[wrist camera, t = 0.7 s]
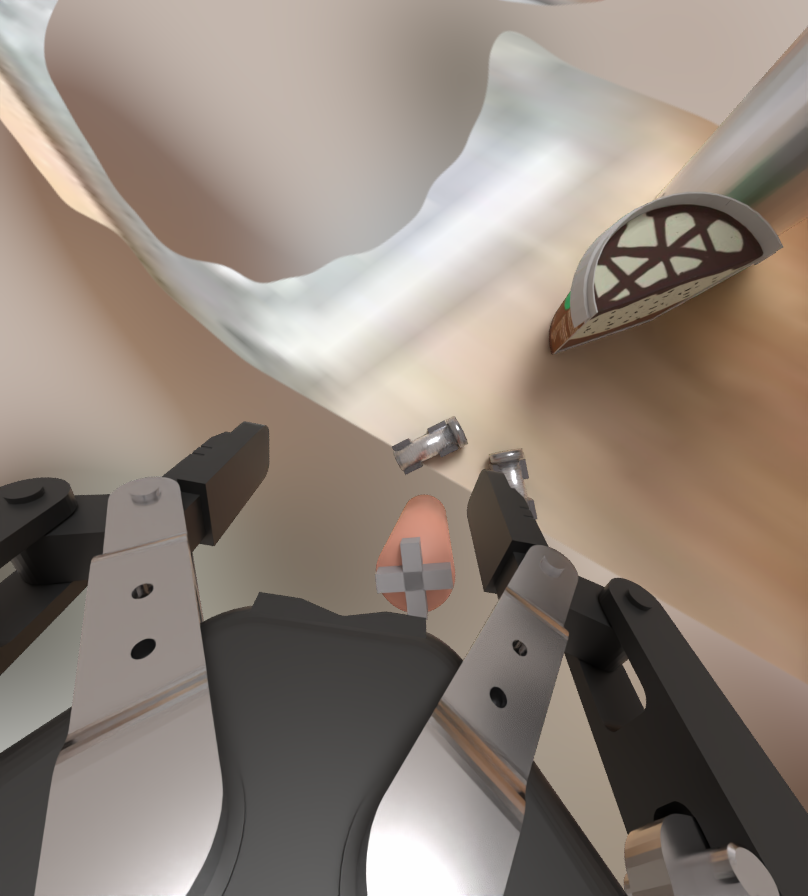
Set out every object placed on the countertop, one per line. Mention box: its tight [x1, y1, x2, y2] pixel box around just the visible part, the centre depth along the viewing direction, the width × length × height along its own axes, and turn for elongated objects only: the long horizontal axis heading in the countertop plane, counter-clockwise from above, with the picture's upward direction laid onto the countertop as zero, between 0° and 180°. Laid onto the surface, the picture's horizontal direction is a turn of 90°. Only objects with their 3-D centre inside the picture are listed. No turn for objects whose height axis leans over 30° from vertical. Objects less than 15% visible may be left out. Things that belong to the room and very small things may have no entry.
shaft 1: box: [392, 416, 468, 474], centre depth 29 cm, size 7×3×3 cm, turn 116°
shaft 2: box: [489, 449, 537, 519], centre depth 28 cm, size 7×3×3 cm, turn 11°
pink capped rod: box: [375, 495, 455, 619], centre depth 23 cm, size 4×4×15 cm
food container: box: [549, 192, 783, 355], centre depth 24 cm, size 12×6×10 cm, turn 108°
